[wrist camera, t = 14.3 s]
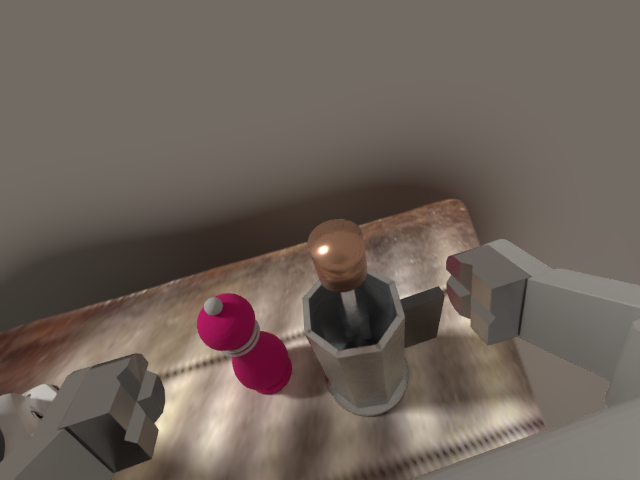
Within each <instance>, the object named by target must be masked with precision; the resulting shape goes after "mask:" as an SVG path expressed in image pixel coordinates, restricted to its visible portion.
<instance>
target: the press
mask: <svg viewBox="0 0 640 480" xmlns="http://www.w3.org/2000/svg"><path fill="white" fill-rule="evenodd" d="M354 293H355V297H356V302H357V307H358V312H359V317H360V322H361V327H362V332H363V337H364V341H365V343H369V344H373V345H371V346H365V347H359V348H353V349H350V348H351V347H352V346H354V341H353V337H352V334H351V330H350V326H349V322H348V319H347V315H346V311H345V307H344V304H343V300H342V296H341V293H338V292H333V291H330V290H328V289H326V288H325V287H324V286H323V285H322V284H321V282H320V280H318V281H317V282H316V283H315V285H314V286H313V287H312V288H311V289H310V290H309V291H308V292H307V294H306V295H305V296H304V297H303V298H302V299H303V314H304V330H305V335H306V337H307V339H308V341H309V343H310V345H311V347H312V349H313V351H314V353H315V355H316V356H317V358H318V360H319V362H320V364H321V366H322V368H323V370H324V372H325V377H326V382H327V385H328V388H329V390H330V392H331V394H332V396H333V397H334V399H335V400H336V401H337V402H338V404H340V405H341V406H342V407H343V408H344V409H346V410H347V411H349V412H351V413H353V414H356V415H360V416H367V417H370V416H377V415H381V414H384V413H386V412H388V411H389V410H391V409H392V408H394V407H395V406H396V405H397V404H398V403H399V401H400V400H401V399H402V397H403V395H404V393H405V390H406V387H407V383H408V367H407V362H406V359H405V356H404V348H407V347H410V346H413V345H415V344H418V343H421V342H424V341H427V340H430V339H432V338H435V337H437V332H438V327H439V322H440V317H441V312H442V307H443V302H444V297H445V295H444V294H443V292H442V291H441V289H440V288H439V286H438V287H435V288H432V289H430V290H427V291H424V292H421V293H418V294H415V295H412V296H409V297H406V298H404V299H401V300H400V298H399V295H398V292H397V288H396V285H395V282H394V281H393V280H391V279H389V278H387V277H385V276H383V275H381V274H379V273H377V272H375V271H374V270H372V269H370V268H368V267H367V276H366V278H365V280H364V282H363V283H362V284H361V285H360V286H359V287H357V288H356V289H354Z"/></svg>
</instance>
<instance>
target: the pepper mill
mask: <svg viewBox="0 0 640 480" xmlns="http://www.w3.org/2000/svg"><path fill="white" fill-rule="evenodd" d="M197 329H198V333H199V335H200V338H201V339H202V340H203V342H204V343H205V344H206V345H207V346H209V347H210V348H212V349H215V350H219V351H221V352H222V353H223V354H225V355H227V356H230V357H232V364H233V369H234V372H235V375H236V377H237V378H238V379H239V381H240V382H241V383H242V384H243V385H244V386H246V387H247V388H250V389H253V390H256V391H257V392H259V393H262V394H273V393H276V392H278V391H280V390H281V389H282V388H283V387H284V386H285V385H286V384H287V382H288V381H289V379H290V376H291V372H292V365H291V361H290V359H289V357H288V353H287V349H286V347H285V345H284V344H283V342H282V341H281V340H280V339H279V338H278V337H276V336H275V335H273V334H270V333H268V332H264V331H260V327H259V324H258V322H257V321H256V320H255V313H254V310H253V308H252V306H251V305H250V303H249V302H248V301H247V300H246V299H244V298H243V297H241V296H239V295H237V294H231V293H228V294H221V295H218V296H216V297H214V298H210V299H208V300H207V301H206V302H205V305H204V307H203V308H202V310H201V311H200V313H199V316H198V320H197Z"/></svg>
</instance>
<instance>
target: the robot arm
mask: <svg viewBox="0 0 640 480" xmlns="http://www.w3.org/2000/svg"><path fill="white" fill-rule="evenodd" d="M446 270H447V271H448V272H449V273H450V274H451V276H450V278H449V279H448V281H447V293H448V296H449V299H450V302H451V304H452V305H453V307H454V309H455V310H456V311H457V312H458V313H459V315H461V316H464V317H466V318H469V319H471V326H470V327H471V328H472V329H473V330H474V331H475V333H476V334H477V335H478V336H479V337H480V338H481V339H482V340H483V341H484V343H485V344H486V345H487V346H488V345H491V344H494V343H498V342H501V341H504V340H507V339H511V338H514V337H517V336H520V338H521V339H523V340H526V341H528V342H530V343H532V344H534V345H536V346H538V347H540V348H542V349H544V350H547V351H549V352H551V353H553V354H555V355H557V356H559V357H561V358H563V359H565V360H567V361H570V362H572V363H574V364H576V365H578V366H580V367H582V368H584V369H587V370H589V371H591V372H593V373H595V374H597V375H599V376H601V377H603V378H606V379H607V380H609V381H610V383H609V386H608V388H607V391H606V394H605V397H604V404H605V405H606V406H607V408H605V409H602V410H599V411H596V412H594V413H591V414H588V415H586V416H583V417H580V418H577V419H575V420H572V421H569V422H566V423H564V424H561V425H558V426H555V427H553V428H550V429H547V430H545V431H542V432H539V433H536V434H534V435H531V436H528V437H525V438H523V439H520V440H517V441H514V442H512V443H509V444H506V445H504V446H501V447H498V448H495V449H493V450H490V451H487V452H484V453H482V454H479V455H476V456H473V457H471V458H468V459H465V460H463V461H460V462H457V463H454V464H452V465H449V466H446V467H443V468H441V469H438V470H435V471H432V472H430V473H427V474H424V475H422V476H419V477H416V478H413V479H411V480H640V286H639V285H635V284H630V283H626V282H621V281H616V280H612V279H607V278H602V277H598V276H593V275H588V274H584V273H578V272H575V271H570V270H565V269H560V268H559V269H556V270H553V269H551V268H550V267H548V266H546V265H545V264H543V263H541V262H540V261H539V260H537V259H536V258H534V257H532V256H531V255H529V254H528V253H526V252H525V251H523V250H521V249H520V248H518V247H517V246H515V245H514V244H512V243H511V242H509V241H507V240H503V239H500V240H496V241H493V242H491V243H487V244H485V245H483V246H480V247H477V248H473V249H470V250H467V251H464V252H461V253H458V254H454V255H451V256H448V258H447V261H446ZM147 366H148V362H147V360H146V359H145V358H144V357H143V355H142V354H136V353H135V354H131V355H128V356H124V357H121V358H118V359H114V360H111V361H107V362H104V363H100V364H97V365H94V366H91V367H87V368H84V369H80V370H77V371H74V372H73V373H71V374H70V375H68V376H67V377H66V379H65V381H64V382H63V384H62V386H61V388H60V389H59V391H58V390H57V389H56V388H54V387H53V386H52V385H49V384H42V385H39V386H37V387H35V388H33V389H31V390H29V391H27V392H26V393H24V394H22V395H19V394H14V393H10V394H5V395H2V396H0V480H111V479H112V478H113V477H114V474H113V473H115V472H118V471H121V470H123V469H126V468H129V467H131V466H134V465H137V464H140V463H142V462H145V461H148V460H150V459H152V456H153V452H154V448H155V444H156V439H157V435H158V431H159V430H158V428H157V427H156V425H155V424H154V423H155V422H156V421H157V419H158V418H159V417H160V415H161V414H162V413H163V409H164V404H165V390H164V387H163V384H162V381H161V380H160V378H159V377H158V375H157V374H155V373H152V372H149V371H147Z"/></svg>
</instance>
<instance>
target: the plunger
mask: <svg viewBox="0 0 640 480" xmlns="http://www.w3.org/2000/svg"><path fill="white" fill-rule="evenodd" d="M308 248H309V251H310V254H311V257H312V260H313V263H314V265H315V268H316V271H317V274H318V277H319V280H320V282H321V284H322V285H323V286H324V287H325V288H326V289H328V290H330V291H333V292H338V293H341V296H342V300H343V304H344V307H345V311H346V315H347V319H348V322H349V326H350V330H351V334H352V337H353V341H354V346H352V347H351V348H350V349H353V348H359V347H365V346H371V345H373V344H369V343H365V341H364V337H363V332H362V327H361V322H360V317H359V312H358V307H357V302H356V297H355V293H354V289H356V288H357V287H359V286H360V285H361V284H362V283H363V282H364V280H365V278H366V276H367V262H366V255H365V247H364V240H363V234H362V231H361V229H360V228H359V227H358V226H357V225H356V224H355V223H353V222H351V221H348V220H344V219H334V220H329V221H326V222H324V223H322V224H320V225H319V226H317V227H316V228H315V229H314V230H313V231H312V232H311V234H310V236H309V239H308Z"/></svg>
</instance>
